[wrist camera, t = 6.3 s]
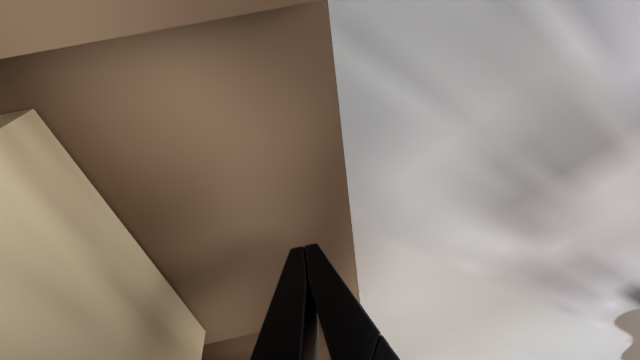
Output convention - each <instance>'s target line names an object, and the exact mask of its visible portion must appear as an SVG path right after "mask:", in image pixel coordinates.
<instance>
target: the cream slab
mask: <svg viewBox="0 0 640 360" xmlns="http://www.w3.org/2000/svg"><path fill="white" fill-rule="evenodd" d="M205 333H206V331H205V330H204V329H203V327H202V326H201V325H200V323H199V322H198V321H197V320H196V318H195V317H194V316H193V314H192V313H191V312H190V310H189V309H188V308H187V307H186V305H185V304H184V303H183V301H182V300H181V299H180V298H179V296H178V295H177V294H176V292H175V291H174V290H173V289H172V287H171V286H170V285H169V283H168V282H167V281H166V279H165V278H164V277H163V276H162V274H161V273H160V272H159V270H158V269H157V268H156V267H155V265H154V264H153V263H152V261H151V260H150V259H149V257H148V256H147V255H146V254H145V252H144V251H143V250H142V248H141V247H140V246H139V245H138V243H137V242H136V241H135V239H134V238H133V237H132V236H131V234H130V233H129V232H128V230H127V229H126V228H125V226H124V225H123V224H122V223H121V221H120V220H119V219H118V217H117V216H116V215H115V214H114V212H113V211H112V210H111V208H110V207H109V206H108V204H107V203H106V202H105V201H104V199H103V198H102V197H101V195H100V194H99V193H98V192H97V190H96V189H95V188H94V186H93V185H92V184H91V183H90V181H89V180H88V179H87V177H86V176H85V175H84V173H83V172H82V171H81V170H80V168H79V167H78V166H77V164H76V163H75V162H74V161H73V159H72V158H71V157H70V155H69V154H68V153H67V151H66V150H65V149H64V148H63V146H62V145H61V144H60V142H59V141H58V140H57V139H56V137H55V136H54V135H53V133H52V132H51V131H50V129H49V128H48V127H47V126H46V124H45V123H44V122H43V120H42V119H41V118H40V117H39V115H38V114H37V113H36V111H35V110H34V109H29V110H23V111H18V112H13V113H8V114H2V115H0V360H201V358H202V351H203V345H204V339H205Z"/></svg>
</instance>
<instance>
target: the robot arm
mask: <svg viewBox="0 0 640 360" xmlns="http://www.w3.org/2000/svg"><path fill="white" fill-rule="evenodd" d="M317 314H318V315H317ZM318 318H319V321H320V324H321V328H322V331H323V334H324V338H325V341H326V344H327V348H328V351H329V354H330V358H331V360H400V359H399V357H398V356H397V355H396V353H395V352H394V351H393V349H392V348H391V347H390V345H389V344H388V343H387V341H386V340H385V338H384V337H383V336H382V335H380V331H379V330H378V329H377V327H376V326H375V324H374V323H373V321H372V320H371V319H370V317H369V316H368V314H367V313H366V312H365V310H364V309H363V307H362V306H361V304H360V303H359V302H358V300H357V299H356V297H355V296H354V294H353V293H352V292H351V290H350V289H349V287H348V286H347V285H346V283H345V282H344V280H343V279H342V277H341V276H340V275H339V273H338V272H337V270H336V269H335V267H334V266H333V265H332V263H331V262H330V260H329V259H328V258H327V256H326V255H325V253H324V252H323V250H322V249H321V248H320V246H319V245H318V244H317V243H313V244H308V245H305V246H304V247H303V246H299V247H294V248H291V249H290V251H289V253H288V256H287V259H286V262H285V264H284V267H283V270H282V272H281V275H280V278H279V281H278V283H277V286H276V289H275V292H274V294H273V297H272V300H271V302H270V305H269V308H268V311H267V313H266V316H265V319H264V322H263V324H262V327H261V330H260V332H259V335H258V338H257V341H256V343H255V346H254V349H253V352H252V354H251V357H250V360H320V345H319V327H318Z"/></svg>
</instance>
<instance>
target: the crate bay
mask: <svg viewBox="0 0 640 360" xmlns="http://www.w3.org/2000/svg"><path fill="white" fill-rule="evenodd" d="M29 109H34V110H35V111H36V113H37V114H38V115H39V117H40V118H41V119H42V120H43V122H44V123H45V124H46V126H47V127H48V128H49V129H50V131H51V132H52V133H53V135H54V136H55V137H56V139H57V140H58V141H59V142H60V144H61V145H62V146H63V148H64V149H65V150H66V151H67V153H68V154H69V155H70V157H71V158H72V159H73V161H74V162H75V163H76V164H77V166H78V167H79V168H80V170H81V171H82V172H83V173H84V175H85V176H86V177H87V179H88V180H89V181H90V183H91V184H92V185H93V186H94V188H95V189H96V190H97V192H98V193H99V194H100V195H101V197H102V198H103V199H104V201H105V202H106V203H107V204H108V206H109V207H110V208H111V210H112V211H113V212H114V214H115V215H116V216H117V217H118V219H119V220H120V221H121V223H122V224H123V225H124V226H125V228H126V229H127V230H128V232H129V233H130V234H131V236H132V237H133V238H134V239H135V241H136V242H137V243H138V245H139V246H140V247H141V248H142V250H143V251H144V252H145V254H146V255H147V256H148V257H149V259H150V260H151V261H152V263H153V264H154V265H155V267H156V268H157V269H158V270H159V272H160V273H161V274H162V276H163V277H164V278H165V279H166V281H167V282H168V283H169V285H170V286H171V287H172V289H173V290H174V291H175V292H176V294H177V295H178V296H179V298H180V299H181V300H182V301H183V303H184V304H185V305H186V307H187V308H188V309H189V310H190V312H191V313H192V314H193V316H194V317H195V318H196V320H197V321H198V322H199V323H200V325H201V326H202V327H203V329H204V330H205V331H206V333H205V339H204V345H203V351H202V358H201V360H250V357H251V354H252V352H253V349H254V346H255V343H256V341H257V338H258V335H259V332H260V330H261V327H262V324H263V322H264V319H265V316H266V313H267V311H268V308H269V305H270V302H271V300H272V297H273V294H274V292H275V289H276V286H277V283H278V281H279V278H280V275H281V272H282V270H283V267H284V264H285V262H286V259H287V256H288V253H289V251H290V249H291V248H294V247H299V246H303V247H304V246H305V245H308V244H313V243H317V244H318V245H319V246H320V248H321V249H322V250H323V252H324V253H325V255H326V256H327V258H328V259H329V260H330V262H331V263H332V265H333V266H334V267H335V269H336V270H337V272H338V273H339V275H340V276H341V277H342V279H343V280H344V282H345V283H346V285H347V286H348V287H349V289H350V290H351V292H352V293H353V294H354V296H355V297H356V299H357V300H358V302H359V303H360V299H359V290H358V280H357V271H356V262H355V252H354V243H353V234H352V224H351V215H350V206H349V196H348V187H347V178H346V168H345V159H344V150H343V141H342V131H341V122H340V113H339V103H338V94H337V85H336V75H335V66H334V57H333V47H332V38H331V29H330V20H329V10H328V1H327V0H0V115H2V114H8V113H13V112H18V111H23V110H29ZM317 315H318V314H317ZM318 327H319V345H320V360H331V358H330V354H329V351H328V348H327V344H326V341H325V338H324V334H323V331H322V328H321V324H320V321H319V318H318Z"/></svg>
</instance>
